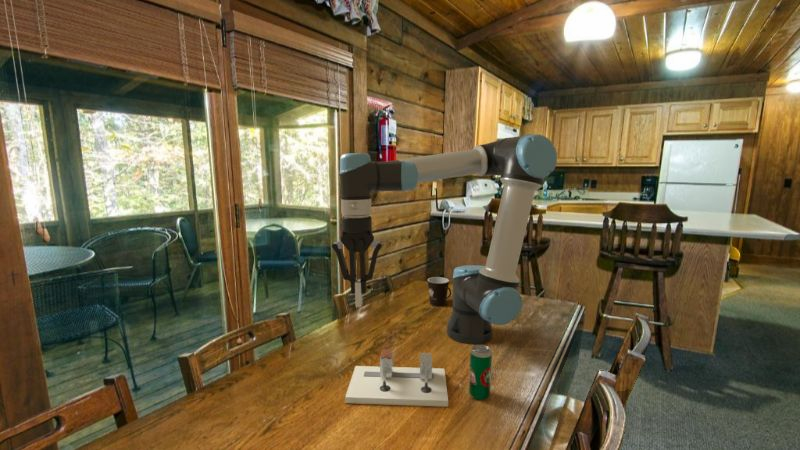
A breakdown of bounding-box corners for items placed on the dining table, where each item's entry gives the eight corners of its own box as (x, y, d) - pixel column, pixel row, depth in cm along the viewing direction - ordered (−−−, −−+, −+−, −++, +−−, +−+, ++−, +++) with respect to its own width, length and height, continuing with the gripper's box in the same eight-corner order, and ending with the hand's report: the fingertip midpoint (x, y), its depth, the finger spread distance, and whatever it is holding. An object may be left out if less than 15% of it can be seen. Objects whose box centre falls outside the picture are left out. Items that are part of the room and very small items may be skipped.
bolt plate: (444, 373, 100) (444, 367, 99) (448, 406, 86) (448, 399, 85) (355, 371, 101) (355, 365, 101) (345, 403, 87) (345, 396, 87)
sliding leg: (392, 369, 98) (392, 348, 97) (390, 387, 90) (390, 365, 89) (381, 368, 98) (381, 348, 97) (378, 387, 90) (377, 365, 89)
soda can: (467, 388, 93) (468, 343, 91) (487, 389, 93) (489, 343, 91) (470, 401, 88) (472, 353, 86) (492, 401, 88) (494, 354, 86)
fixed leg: (431, 371, 97) (431, 351, 97) (432, 390, 89) (432, 368, 88) (420, 370, 98) (420, 350, 97) (419, 389, 89) (420, 368, 88)
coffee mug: (425, 300, 155) (425, 277, 154) (445, 299, 156) (446, 276, 155) (430, 310, 144) (431, 286, 142) (452, 310, 145) (453, 285, 143)
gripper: (327, 217, 90) (331, 310, 93) (381, 217, 89) (383, 310, 93) (333, 214, 97) (337, 300, 101) (383, 213, 97) (384, 300, 100)
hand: (359, 305), depth 97 cm, fingers closed
